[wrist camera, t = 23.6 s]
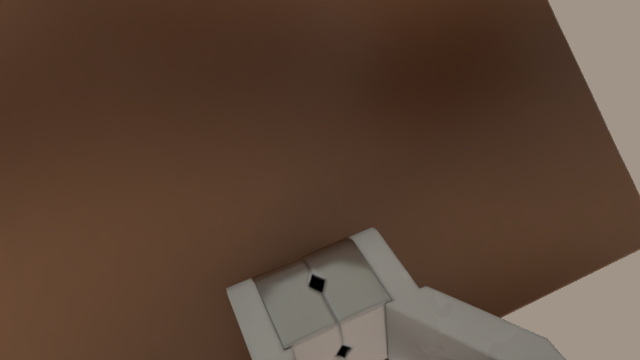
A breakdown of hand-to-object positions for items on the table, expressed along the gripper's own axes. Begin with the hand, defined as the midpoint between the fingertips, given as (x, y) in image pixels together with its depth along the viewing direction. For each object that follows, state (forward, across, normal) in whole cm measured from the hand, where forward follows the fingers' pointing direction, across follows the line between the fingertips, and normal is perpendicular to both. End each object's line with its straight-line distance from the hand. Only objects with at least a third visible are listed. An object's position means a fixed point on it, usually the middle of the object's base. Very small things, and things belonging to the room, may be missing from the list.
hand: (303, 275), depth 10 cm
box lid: (+4, 0, -1) cm, 4 cm away
